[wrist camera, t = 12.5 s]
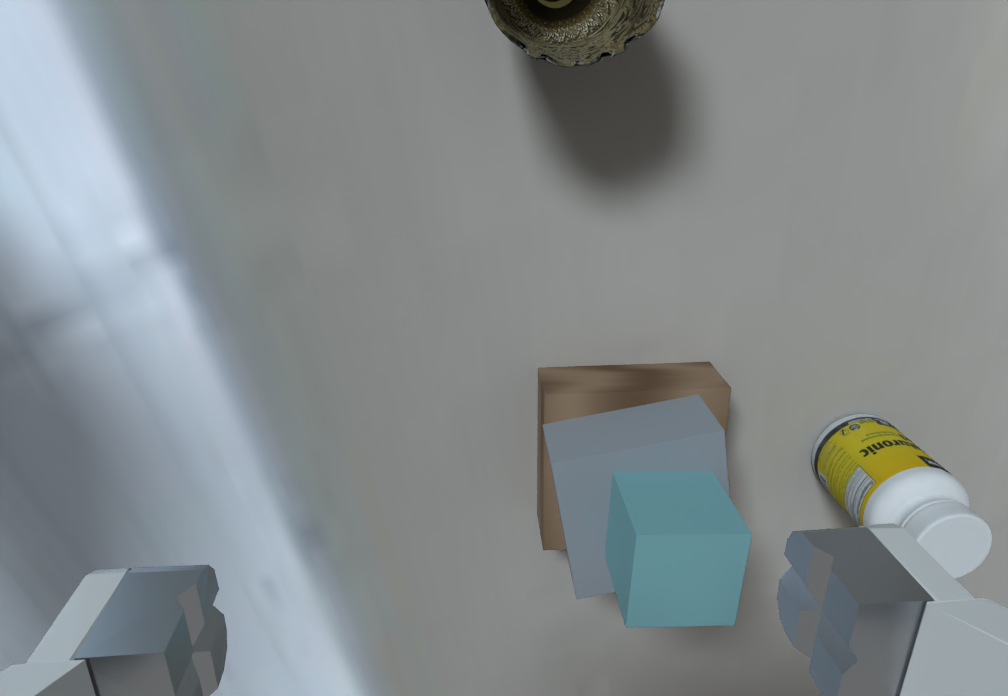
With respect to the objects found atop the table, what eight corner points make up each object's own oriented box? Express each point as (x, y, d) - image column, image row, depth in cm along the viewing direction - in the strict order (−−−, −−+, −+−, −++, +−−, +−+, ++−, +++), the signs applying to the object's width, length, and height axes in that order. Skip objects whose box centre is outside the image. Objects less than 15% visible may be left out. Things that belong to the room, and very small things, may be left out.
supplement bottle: (907, 415, 43) (1027, 510, 34) (876, 490, 45) (981, 599, 36) (824, 405, 42) (923, 498, 33) (796, 481, 44) (882, 589, 35)
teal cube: (604, 555, 36) (625, 627, 32) (612, 472, 34) (636, 535, 30) (699, 554, 37) (734, 625, 32) (713, 471, 35) (751, 533, 30)
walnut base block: (536, 509, 45) (543, 550, 41) (537, 364, 41) (544, 394, 37) (692, 503, 45) (713, 542, 41) (707, 358, 41) (731, 388, 38)
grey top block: (566, 551, 41) (576, 599, 37) (542, 424, 38) (551, 463, 34) (710, 523, 41) (735, 569, 37) (698, 394, 38) (724, 430, 34)
